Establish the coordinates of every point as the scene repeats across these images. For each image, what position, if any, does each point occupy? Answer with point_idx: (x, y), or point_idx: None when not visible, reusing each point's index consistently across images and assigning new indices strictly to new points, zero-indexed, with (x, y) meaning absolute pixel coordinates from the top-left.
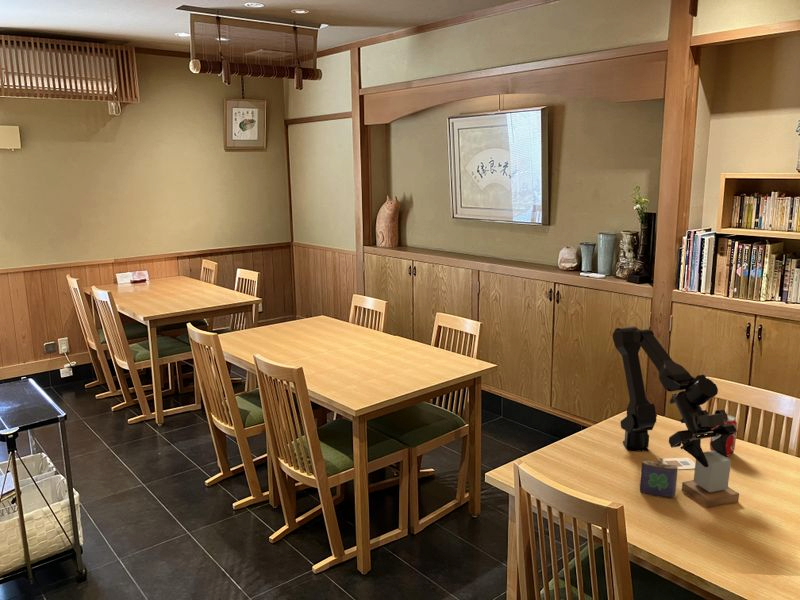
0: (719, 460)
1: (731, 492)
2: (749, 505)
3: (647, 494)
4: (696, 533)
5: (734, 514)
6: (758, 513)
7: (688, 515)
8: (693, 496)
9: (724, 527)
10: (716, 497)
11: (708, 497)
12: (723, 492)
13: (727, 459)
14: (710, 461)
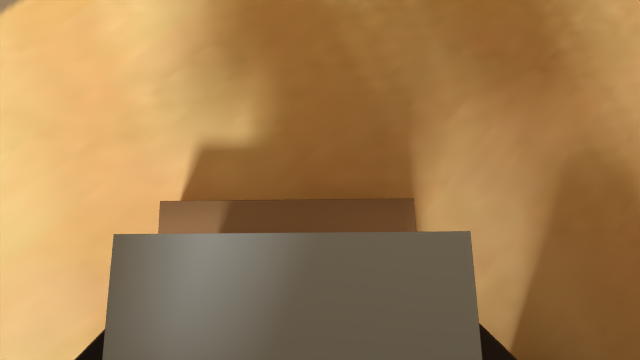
0: (306, 278)
1: (199, 229)
2: (144, 161)
3: None
4: (598, 45)
5: (304, 114)
6: (170, 82)
7: (545, 181)
8: None
9: (441, 41)
10: (349, 206)
11: (400, 221)
12: None
13: (150, 271)
14: (465, 292)
